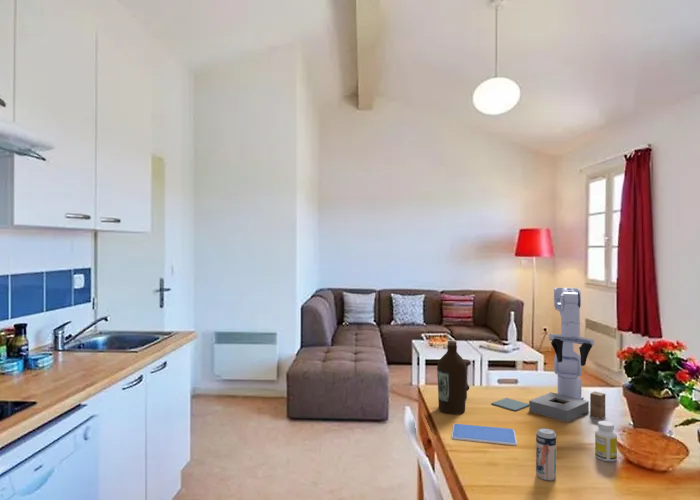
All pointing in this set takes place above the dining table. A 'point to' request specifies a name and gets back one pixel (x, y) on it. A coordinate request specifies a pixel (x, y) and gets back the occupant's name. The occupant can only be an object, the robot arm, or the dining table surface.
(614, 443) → the supplement bottle
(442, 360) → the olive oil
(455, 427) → the tablet computer
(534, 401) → the grey flat block
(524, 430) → the dining table surface
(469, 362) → the bolt
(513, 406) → the mat
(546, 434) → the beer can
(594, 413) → the tall wooden block
